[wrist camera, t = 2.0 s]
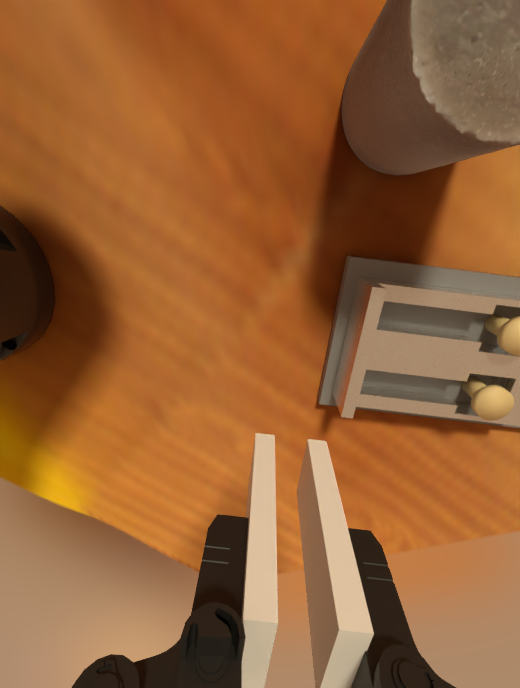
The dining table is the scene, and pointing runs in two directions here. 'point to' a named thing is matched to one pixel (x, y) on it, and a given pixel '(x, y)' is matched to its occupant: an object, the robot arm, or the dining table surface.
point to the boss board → (491, 329)
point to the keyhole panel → (419, 352)
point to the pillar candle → (435, 84)
